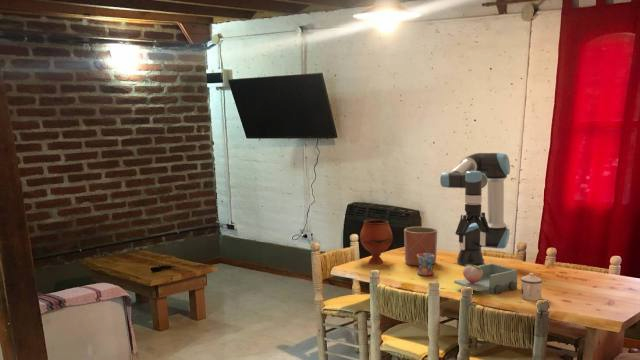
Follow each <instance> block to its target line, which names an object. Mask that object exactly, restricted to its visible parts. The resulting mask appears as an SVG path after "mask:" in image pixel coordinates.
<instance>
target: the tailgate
mask: <svg viewBox="0 0 640 360" xmlns="http://www.w3.org/2000/svg"><path fill="white" fill-rule="evenodd" d="M453 283H454V284H456V285H459V286H462V287H464V286H466V287H465V288H467V287H471V288H473V289H472V290H474V291H476V292H479V291H480V290H488V289H489V287H488V286H485V285H482V284H479V283H473V284H472V283H470V282H469V281H468V280H467V279H466V278H465V279H457V280H456V279H455V280H453ZM480 292H481V291H480Z"/></svg>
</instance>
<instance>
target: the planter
mask: <svg viewBox="0 0 640 360" xmlns="http://www.w3.org/2000/svg"><path fill="white" fill-rule="evenodd" d="M403 232H404V233H403V238H404V239H403V240H404V241H403V242H404V260H405V263H406V265H413V266H418V267H419V261H418V257H417V254H420V253H429V254H433V255H434V259H433V262H432V265H435V264H436V263H437V252H438V251H437V250H438V248H437V247H438V229H437V228H434V227H430V226H429V227H428V226H409V227H405V228H404V229H403Z"/></svg>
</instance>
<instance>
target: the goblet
mask: <svg viewBox="0 0 640 360" xmlns="http://www.w3.org/2000/svg"><path fill="white" fill-rule="evenodd" d="M389 223H390V222H389V221H388V220H384V219H365V220H363V225H362V228H361V230H360V233H359V240H360V243H361V245H362V246H363V248H364V249H365V250H366V251H367V252H368V253H370V254H371V257H370V259H369V260H368V263H369V264H370V265H382V264H384V260H383V259H382V257H381V255H382V253H384V252H385V251H387V250H388V249H389V248H390V246H391V245H392V243H393V240H394V237H393V232H392V228H391V227H390V225H389Z"/></svg>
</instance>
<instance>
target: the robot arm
mask: <svg viewBox="0 0 640 360" xmlns="http://www.w3.org/2000/svg"><path fill="white" fill-rule="evenodd" d="M510 172H511V164H510V159H509V156H508V155H507V153H500V152H477V153H473V154H469V155H468V156H465V157H463V159H461V160H460V162H459V164H458V165H457V166H456V167H454V169H452V170H451V171H450V172H442V173H441V175H440V179H439V180H440V181H439V183H440V186H441V187H442V188H448V189H449V188H452V189H464V191H465V192H464V193H465V194H464V203H465V204H464V212H465V214H461V215H460V218H459V222H458V225H457V228H456V231H455V235H457V236H458V243H459V253H458V257H457V259H456V263H457V264H458V265H461V266H464V267H466V265H469V264H471V265H473V263H474V265H475V266H480V265H485V259H484V255H483V253H482V248H490V249H496V250H498V249H505V248H507V246H508V244H509V237H510V233H511V232H510V228H507V224H506V223H505V222H504V219H505V218H504V215H505V213H504V209H505V208H504V207H505V206H504V204H505V203H504V200H505V199H504V198H505V196H504V195H505V191H504V190H505V188H504V187H505V185H504V184H505V180H506V179H507V178H508V177H507V176H509V175H510V174H511V173H510ZM486 186H487V218H486V212H483V211H482V203H483V202H482V195H483V194H482V191H483V190H482V189H484V188H485V187H486Z"/></svg>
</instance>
